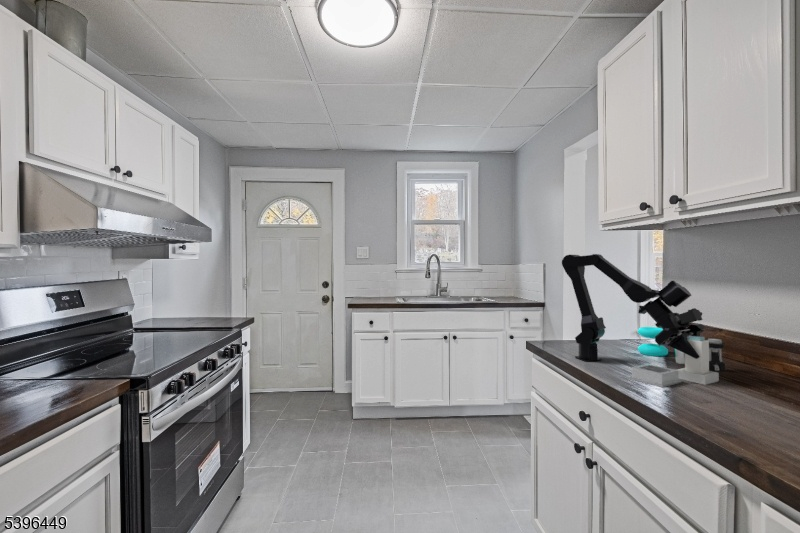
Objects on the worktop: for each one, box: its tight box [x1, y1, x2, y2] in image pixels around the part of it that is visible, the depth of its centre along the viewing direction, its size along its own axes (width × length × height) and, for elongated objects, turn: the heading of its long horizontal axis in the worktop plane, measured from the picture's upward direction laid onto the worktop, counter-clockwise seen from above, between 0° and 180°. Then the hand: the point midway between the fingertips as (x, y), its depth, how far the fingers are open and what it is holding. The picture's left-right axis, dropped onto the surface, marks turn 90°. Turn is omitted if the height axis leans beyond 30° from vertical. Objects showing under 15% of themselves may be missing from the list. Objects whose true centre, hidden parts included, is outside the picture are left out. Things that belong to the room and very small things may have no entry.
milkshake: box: [674, 348, 685, 365], centre depth 141 cm, size 5×5×10 cm
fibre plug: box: [684, 335, 710, 375], centre depth 121 cm, size 4×4×13 cm
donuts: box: [637, 326, 669, 357], centre depth 155 cm, size 10×10×10 cm
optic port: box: [628, 363, 683, 388], centre depth 120 cm, size 10×10×4 cm
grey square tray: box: [676, 367, 720, 386], centre depth 121 cm, size 8×8×2 cm
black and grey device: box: [707, 338, 726, 372], centre depth 132 cm, size 7×5×10 cm
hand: (702, 357), depth 120 cm, fingers closed on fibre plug, 4 cm apart
